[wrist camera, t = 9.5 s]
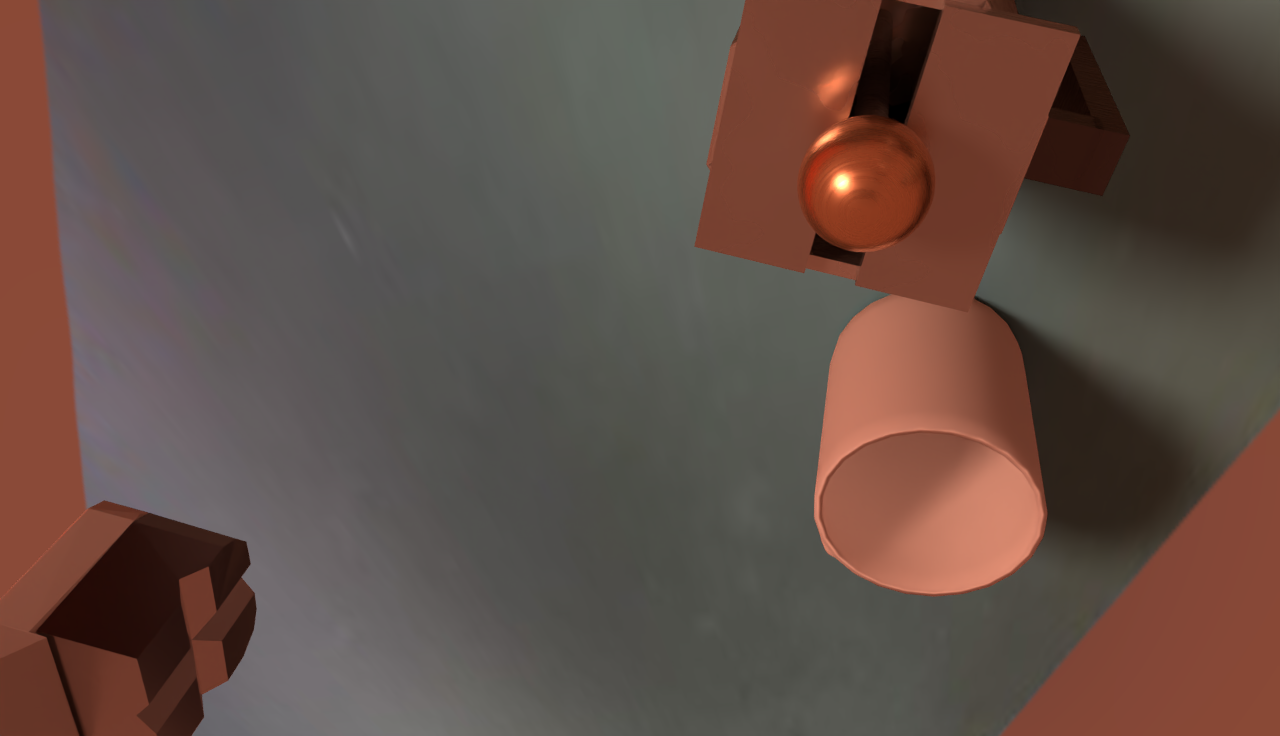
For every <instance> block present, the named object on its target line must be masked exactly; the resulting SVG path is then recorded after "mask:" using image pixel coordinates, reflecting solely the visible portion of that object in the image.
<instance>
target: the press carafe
mask: <svg viewBox="0 0 1280 736" xmlns="http://www.w3.org/2000/svg"><path fill="white" fill-rule="evenodd" d="M898 1H902V2H907V3H911V4H916V5H921V6H925V7H930V8H935V9H939V10H941V11H940V14H939V17H938V20H937V23H936V26H935V29H934V32H933V36H932V39H931V42H930V45H929V48H928V51H927V54H926V57H925V61H924V64H923V67H922V70H921V73H920V76H919V79H918V82H917V86H916V89H915V92H914V95H913V98H912V100H911V101H908V102H905V103H902V104H899V105H894V106H889V112H888V118H891V119H893V120H896V121H898V122H900V123H902V124H904V125H905V126H907V127H908V128H910V129H911V130H912V131H913V132H915V133H916V134H917V136H918V137H919V138H920V139H921V140H922V142H923V143H924V145H925V146H926V147H927V149H928V151H929V153H930V155H931V158H932V161H933V165H934V170H935V179H936V184H935V192H934V198H933V201H932V204H931V207H930V209H929V211H928V213H927V215H926V217H925V219H924V220H923V222H922V223H921V224H920V226H919V227H918V228H917V229H916V230H915V231H914V232H913V233H912V234H911V235H910V236H908V237H907V238H906V239H904V240H903V241H901V242H900V243H898V244H896V245H894V246H892V247H889V248H886V249H883V250H879V251H874V252H854V251H848V250H845V249H841V248H839V247H837V246H834V245H832V244H830V243H829V242H827V241H825V240H824V239H823V238H821V237H820V236H819V235H818V234H817V233H816V232H815V231H814V230H813V229H812V227H811V226H810V225H809V223H808V222H807V220H806V218H805V217H804V215H803V212H802V210H801V207H800V203H799V199H798V193H797V180H798V173H799V168H800V165H801V162H802V160H803V157H804V155H805V153H806V151H807V150H808V148H809V147H810V145H811V144H812V143H813V141H814V140H815V139H816V138H817V137H818V136H819V135H820V134H821V133H822V132H823V131H825V130H826V129H827V128H829V127H830V126H832V125H833V124H835V123H837V122H839V121H842V120H844V119H847V118H850V117H855V111H856V105H853V100H854V97H855V93H856V89H857V86H858V82H859V79H860V75H861V72H862V68H863V65H864V61H865V58H866V54H867V51H868V47H869V44H870V40H871V37H872V33H873V30H874V26H875V23H876V19H877V16H878V12H879V9H880V5H881V2H882V0H746V1H745V5H744V10H743V15H742V20H741V25H740V27H739V29H738V31H737V34H736V36H735V38H734V40H733V42H732V44H731V47H730V52H729V57H728V62H727V67H726V72H725V77H724V81H723V86H722V91H721V96H720V101H719V106H718V111H717V116H716V121H715V125H714V130H713V135H712V140H711V145H710V150H709V155H708V160H707V166H708V168H709V169H710V174H709V179H708V184H707V189H706V193H705V198H704V203H703V208H702V213H701V218H700V222H699V227H698V232H697V237H696V242H695V246H694V247H698V248H702V249H707V250H711V251H715V252H719V253H723V254H727V255H731V256H736V257H740V258H744V259H748V260H752V261H756V262H760V263H765V264H769V265H773V266H777V267H781V268H785V269H789V270H794V271H798V272H802V273H804V272H805V268H808V269H812V270H816V271H820V272H824V273H828V274H832V275H837V276H841V277H845V278H849V279H853V280H855V285H856V286H860V287H864V288H868V289H872V290H877V291H881V292H885V293H889V294H893V295H897V296H901V297H906V298H910V299H914V300H918V301H922V302H926V303H930V304H935V305H939V306H943V307H947V308H951V309H955V310H959V311H964V312H968V311H969V309H970V306H971V304H972V301H973V299H974V296H975V294H976V291H977V289H978V286H979V284H980V281H981V279H982V277H983V274H984V272H985V269H986V267H987V264H988V262H989V259H990V257H991V254H992V252H993V249H994V247H995V244H996V242H997V240H998V237H999V235H1000V234H1001V233H1002V231H1003V228H1004V226H1005V223H1006V221H1007V218H1008V216H1009V214H1010V211H1011V209H1012V206H1013V204H1014V201H1015V199H1016V196H1017V194H1018V191H1019V189H1020V187H1021V184H1022V182H1023V179H1024V178H1026V179H1030V180H1035V181H1039V182H1044V183H1048V184H1052V185H1057V186H1061V187H1065V188H1070V189H1074V190H1078V191H1083V192H1087V193H1092V194H1096V195H1100V196H1102V195H1103V193H1104V191H1105V189H1106V187H1107V185H1108V182H1109V180H1110V178H1111V176H1112V174H1113V172H1114V169H1115V167H1116V165H1117V163H1118V161H1119V159H1120V156H1121V154H1122V152H1123V150H1124V148H1125V146H1126V143H1127V141H1128V139H1129V137H1130V135H1129V132H1128V130H1127V128H1126V126H1125V124H1124V121H1123V119H1122V117H1121V115H1120V113H1119V110H1118V108H1117V106H1116V104H1115V102H1114V99H1113V97H1112V95H1111V93H1110V91H1109V88H1108V86H1107V84H1106V82H1105V80H1104V77H1103V75H1102V73H1101V71H1100V69H1099V66H1098V64H1097V62H1096V60H1095V58H1094V55H1093V53H1092V51H1091V49H1090V47H1089V44H1088V42H1087V40H1086V38H1085V36H1081V35H1080V32H1079V30H1078V28H1077V27H1075V26H1070V25H1065V24H1061V23H1056V22H1051V21H1047V20H1042V19H1037V18H1033V17H1028V16H1023V15H1019V14H1018V11H1017V7H1016V4H1015V1H1014V0H898Z"/></svg>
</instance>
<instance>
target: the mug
mask: <svg viewBox="0 0 1280 736" xmlns="http://www.w3.org/2000/svg"><path fill="white" fill-rule="evenodd" d="M1047 515H1048V513H1047V507H1046V500H1045V494H1044V488H1043V481H1042V475H1041V469H1040V462H1039V456H1038V449H1037V443H1036V437H1035V430H1034V424H1033V418H1032V411H1031V405H1030V399H1029V392H1028V386H1027V379H1026V373H1025V368H1024V363H1023V358H1022V352H1021V350H1020V347H1019V344H1018V342H1017V340H1016V338H1015V337H1014V335H1013V333H1012V331H1011V329H1010V328H1009V326H1008V324H1007V323H1006V322H1005V321H1004V320H1003V319H1002V318H1001V317H1000V316H999V315H998V314H997V313H996V312H995V311H993V310H992V309H991V308H990V307H988V306H986V305H985V304H983V303H981V302H979V301H977V300H975V299H973V301H972V304H971V306H970V309H969V311H968V312H964V311H959V310H955V309H951V308H947V307H943V306H939V305H935V304H930V303H926V302H922V301H918V300H914V299H910V298H906V297H901V296H897V295H893V294H891V295H889V296H887V297H884V298H882V299H880V300H877V301H875V302H873V303H871V304H869V305H868V306H867V307H866V308H864V309H863V310H862V311H861V312H859V313H858V314H857V315H855V316H854V317H853V318H852V319H851V321H850V322H849V323H848V325H847V326H846V327H845V329H844V330H843V331H842V333H841V334H840V336H839V339H838V342H837V345H836V348H835V350H834V353H833V356H832V359H831V363H830V369H829V378H828V386H827V395H826V403H825V412H824V420H823V429H822V437H821V446H820V454H819V463H818V472H817V480H816V489H815V503H814V518H815V521H816V524H817V527H818V530H819V533H820V536H821V540H822V543H823V546H824V548H825V550H826V551H827V553H828V554H829V555H831V556H833V557H835V558H836V559H837V560H839V561H840V562H841V563H842V564H843V565H845V566H846V567H847V568H848V569H849V570H851V571H852V572H853V573H854V574H856V575H858V576H860V577H862V578H864V579H866V580H868V581H870V582H872V583H874V584H876V585H878V586H881V587H884V588H888V589H891V590H895V591H898V592H902V593H905V594H915V595H925V596H945V595H956V594H964V593H968V592H971V591H975V590H979V589H982V588H986V587H989V586H991V585H993V584H995V583H997V582H999V581H1001V580H1003V579H1004V578H1006V577H1008V576H1010V575H1012V574H1014V573H1015V572H1016V571H1017V570H1018V569H1019V568H1020V567H1021V566H1022V565H1023V564H1025V563H1026V562H1027V561H1028V560H1029V559H1030V558H1031V557H1032V556H1033V554H1034V552H1035V550H1036V549H1037V547H1038V545H1039V544H1040V542H1041V540H1042V538H1043V537H1044V531H1045V526H1046V521H1047Z"/></svg>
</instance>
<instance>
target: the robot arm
mask: <svg viewBox="0 0 1280 736" xmlns="http://www.w3.org/2000/svg"><path fill="white" fill-rule="evenodd" d="M250 564H251V563H250V558H249V553H248V548H247V542H245V541H242V540H239V539H235V538H232V537H229V536H225V535H222V534H219V533H215V532H212V531H208V530H205V529H202V528H198V527H195V526H192V525H188V524H185V523H181V522H178V521H175V520H171V519H168V518H165V517H161V516H158V515H154V514H152V513H148V512H144V511H141V510H137V509H134V508H130V507H126V506H123V505H119V504H115V503H112V502H108V501H105V500H104V501H102V502H100V503H98V504H96V505H94V506H92V507H90V508H88V509H87V510H86V511H84V513H83V514H82V515H81V516H80V517H79V518H78V519H77V520H76V521H75V522H74V523H73V524H72V525H71V526H70V527H69V528H68V529H67V530H66V531H65V532H64V533H63V534H62V535H61V536H60V537H59V539H58V540H57V541H56V542H55V543H54V544H53V545H52V546H51V547H50V548H49V549H48V550H47V551H46V552H45V553H44V554H43V555H42V556H41V557H40V558H39V559H38V560H37V561H36V562H35V563H34V564H33V566H31V568H30V569H29V570H28V571H27V572H26V573H25V574H24V575H23V576H22V577H21V578H20V579H19V580H18V581H17V582H16V583H15V584H14V585H13V586H12V587H11V588H10V589H9V590H8V591H7V592H6V593H5V595H4V596H3V597H2V598H1V599H0V736H192V734H193V733H194V731H195V730H196V728H197V727H198V725H199V724H200V722H201V721H202V719H203V718H204V711H203V701H202V694H204V693H206V692H207V691H209V690H211V689H213V688H215V687H217V686H219V685H221V684H222V683H224V682H226V681H228V680H229V678H230V677H231V675H232V674H233V672H234V670H235V669H236V667H237V666H238V664H239V663H240V661H241V659H242V658H243V656H244V654H245V651H246V648H247V646H248V643H249V641H250V638H251V635H252V633H253V630H254V625H255V617H256V600H255V593H254V592H253V591H252V589H251V588H250V587H249V586H248V585H247V584H246V582H245V581H244V580H243V579H242V578H241V577H242V575H243V574H244V573H245V571H246V570H247V568H248V567H249V566H250Z"/></svg>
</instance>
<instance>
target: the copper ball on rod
mask: <svg viewBox="0 0 1280 736" xmlns="http://www.w3.org/2000/svg"><path fill="white" fill-rule="evenodd" d="M940 11H941V10H939V9H935V8H930V7H925V6H921V5H916V4H911V3H907V2H902V1H898V0H882V2H881V5H880V9H879V12H878V16H877V19H876V23H875V26H874V30H873V33H872V37H871V40H870V44H869V47H868V51H867V54H866V58H865V61H864V65H863V68H862V72H861V75H860V79H859V82H858V86H857V89H856V93H855V97H854V100H853V105H856V111H855V117H850V118H847V119H844V120H842V121H839V122H837V123H835V124H833V125H832V126H830V127H829V128H827V129H826V130H825V131H823V132H822V133H821V134H820V135H819V136H818V137H817V138H816V139H815V140H814V141H813V143H812V144H811V145H810V147H809V148H808V150H807V151H806V153H805V155H804V157H803V160H802V162H801V165H800V168H799V173H798V180H797V193H798V199H799V203H800V207H801V210H802V212H803V215H804V217H805V218H806V220H807V222H808V223H809V225H810V226H811V227H812V229H813V230H814V231H815V232H816V233H817V234H818V235H819V236H820V237H821V238H823V239H824V240H825V241H827V242H829V243H830V244H832V245H834V246H837V247H839V248H841V249H845V250H848V251H854V252H874V251H879V250H883V249H886V248H889V247H892V246H894V245H896V244H898V243H900V242H901V241H903V240H904V239H906V238H907V237H908V236H910V235H911V234H912V233H913V232H914V231H915V230H916V229H917V228H918V227H919V226H920V224H921V223H922V222H923V220H924V219H925V217H926V215H927V213H928V211H929V209H930V207H931V204H932V201H933V198H934V192H935V184H936V179H935V170H934V165H933V161H932V158H931V155H930V153H929V151H928V149H927V147H926V146H925V145H924V143H923V142H922V140H921V139H920V138H919V137H918V136H917V134H916V133H915V132H913V131H912V130H911V129H910V128H908V127H907V126H905V125H904V124H902V123H900V122H898V121H896V120H893V119H891V118H888V112H889V106H894V105H899V104H902V103H905V102H908V101H911V100H912V98H913V95H914V92H915V89H916V86H917V82H918V79H919V76H920V73H921V70H922V67H923V64H924V61H925V57H926V54H927V51H928V48H929V45H930V42H931V39H932V36H933V32H934V29H935V26H936V23H937V20H938V17H939V14H940Z"/></svg>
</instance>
